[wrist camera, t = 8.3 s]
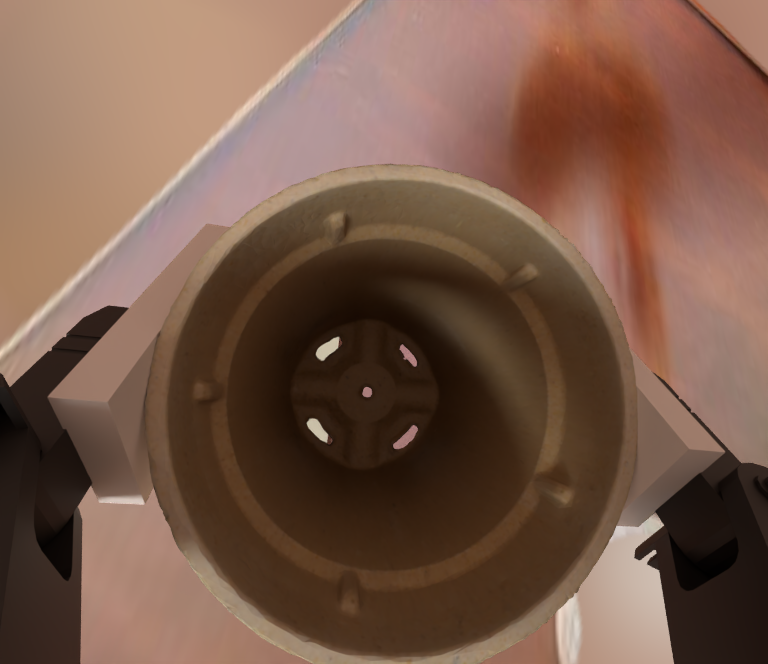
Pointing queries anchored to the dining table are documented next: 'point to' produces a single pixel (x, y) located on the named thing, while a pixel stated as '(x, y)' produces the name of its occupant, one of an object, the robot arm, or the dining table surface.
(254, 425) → the flower pot
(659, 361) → the dining table surface
